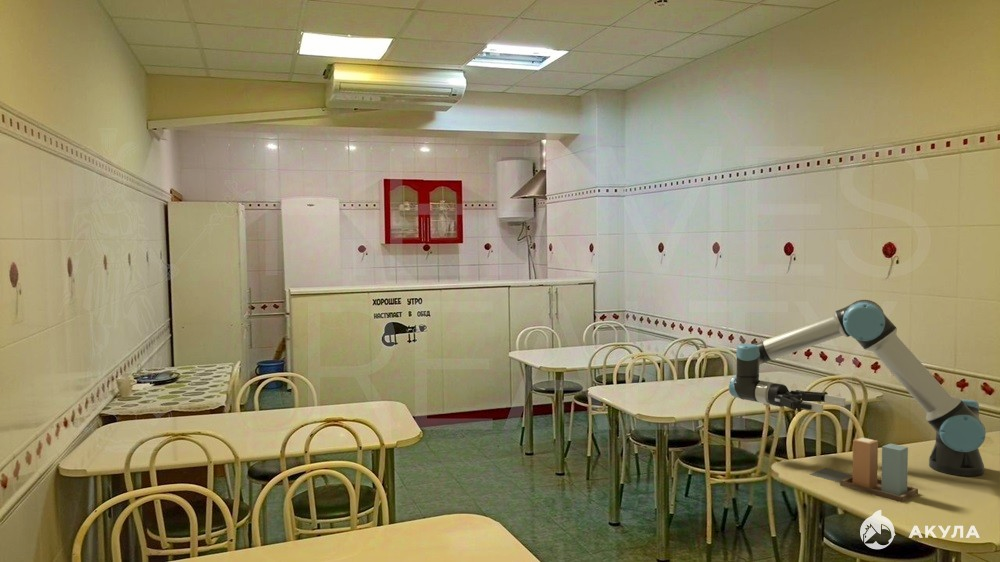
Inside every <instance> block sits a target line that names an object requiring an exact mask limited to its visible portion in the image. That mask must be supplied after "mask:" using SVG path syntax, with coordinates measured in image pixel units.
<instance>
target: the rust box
mask: <svg viewBox="0 0 1000 562" xmlns="http://www.w3.org/2000/svg"><path fill="white" fill-rule="evenodd" d="M878 453H879V440H876V439H871V438H867V437H862V436H860V437H858V438H855V439H853V440H852V475H853V484H857V485H861V486H864V487H868V488H874V487H877V479H878V465H879V463H878V462H879V461H878V459H879V454H878Z"/></svg>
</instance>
